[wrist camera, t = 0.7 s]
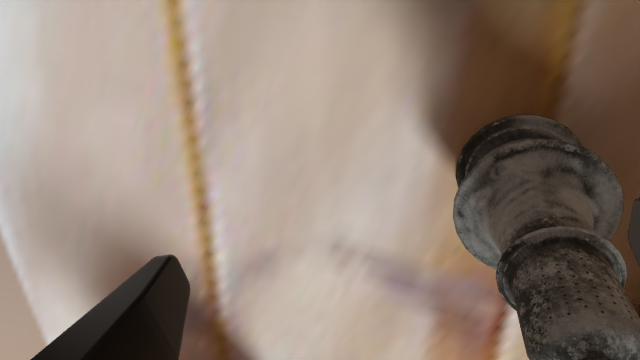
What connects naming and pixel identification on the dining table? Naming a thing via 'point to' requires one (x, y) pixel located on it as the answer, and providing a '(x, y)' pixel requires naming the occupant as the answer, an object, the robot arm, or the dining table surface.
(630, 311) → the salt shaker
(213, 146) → the dining table surface
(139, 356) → the robot arm
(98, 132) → the dining table surface
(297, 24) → the dining table surface
